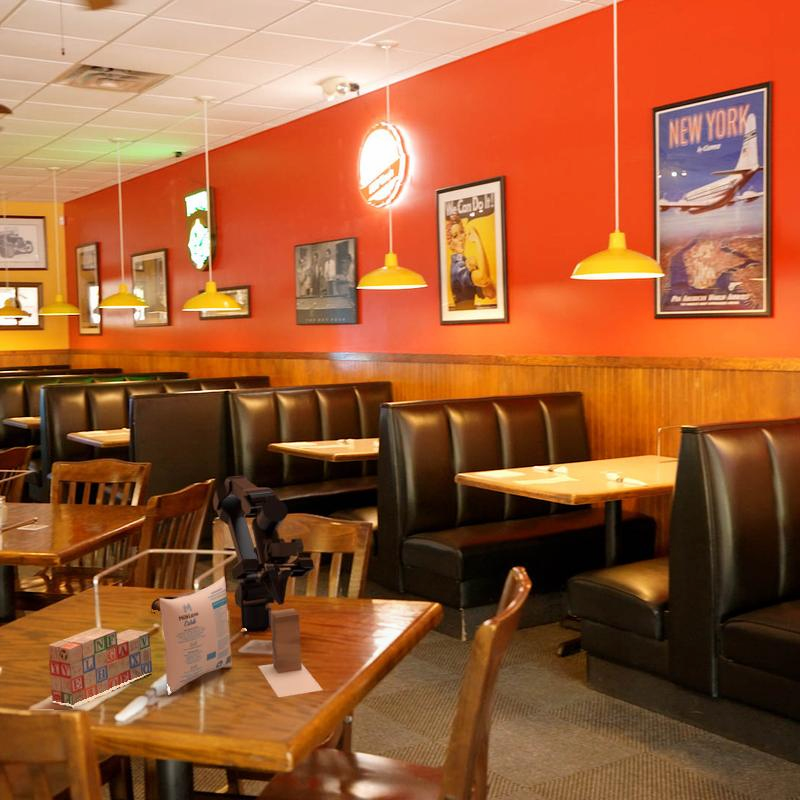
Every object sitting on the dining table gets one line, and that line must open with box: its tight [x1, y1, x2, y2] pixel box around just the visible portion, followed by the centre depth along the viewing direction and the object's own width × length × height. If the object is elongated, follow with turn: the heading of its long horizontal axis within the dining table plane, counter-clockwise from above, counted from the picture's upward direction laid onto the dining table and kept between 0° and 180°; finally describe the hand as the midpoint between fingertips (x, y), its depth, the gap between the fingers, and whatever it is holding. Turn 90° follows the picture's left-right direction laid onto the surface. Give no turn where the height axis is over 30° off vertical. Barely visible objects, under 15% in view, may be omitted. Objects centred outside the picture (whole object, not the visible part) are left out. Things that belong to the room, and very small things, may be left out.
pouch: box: [158, 576, 233, 693], centre depth 208 cm, size 8×19×20 cm, turn 144°
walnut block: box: [270, 608, 302, 674], centre depth 213 cm, size 5×5×12 cm
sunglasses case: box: [150, 586, 208, 611], centre depth 266 cm, size 18×7×7 cm
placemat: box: [257, 662, 323, 698], centre depth 207 cm, size 20×9×1 cm, turn 20°
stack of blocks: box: [48, 627, 153, 705], centre depth 206 cm, size 21×6×12 cm, turn 148°
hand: (281, 604), depth 223 cm, fingers closed
